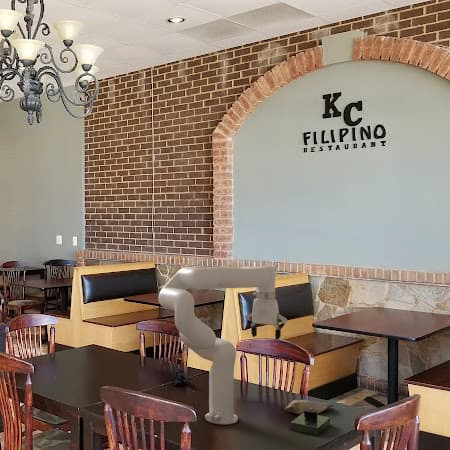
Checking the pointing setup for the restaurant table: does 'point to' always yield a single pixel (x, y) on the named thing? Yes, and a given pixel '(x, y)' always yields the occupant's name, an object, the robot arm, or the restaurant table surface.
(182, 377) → the toy
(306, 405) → the stone
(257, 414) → the restaurant table surface
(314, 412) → the dial
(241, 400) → the restaurant table surface
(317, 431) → the panel
